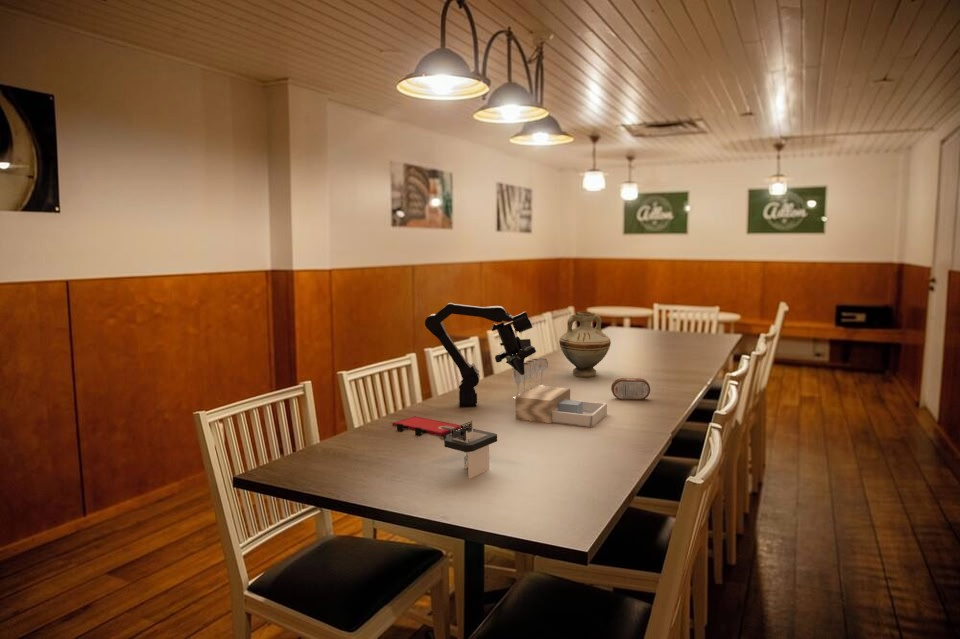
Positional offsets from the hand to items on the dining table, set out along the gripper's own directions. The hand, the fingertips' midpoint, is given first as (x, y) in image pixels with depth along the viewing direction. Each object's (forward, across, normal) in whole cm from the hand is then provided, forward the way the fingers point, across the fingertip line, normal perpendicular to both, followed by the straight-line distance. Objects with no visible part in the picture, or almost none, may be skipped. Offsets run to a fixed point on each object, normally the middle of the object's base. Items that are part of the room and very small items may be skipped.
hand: (523, 374), depth 239 cm
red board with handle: (0, -2, +47) cm, 47 cm away
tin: (+27, -17, -32) cm, 45 cm away
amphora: (+22, +25, -53) cm, 63 cm away
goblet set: (+13, +17, -14) cm, 25 cm away
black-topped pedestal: (+6, -40, +62) cm, 74 cm away
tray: (+18, -23, +2) cm, 30 cm away
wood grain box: (+14, -12, +7) cm, 19 cm away
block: (+13, -18, +4) cm, 23 cm away
